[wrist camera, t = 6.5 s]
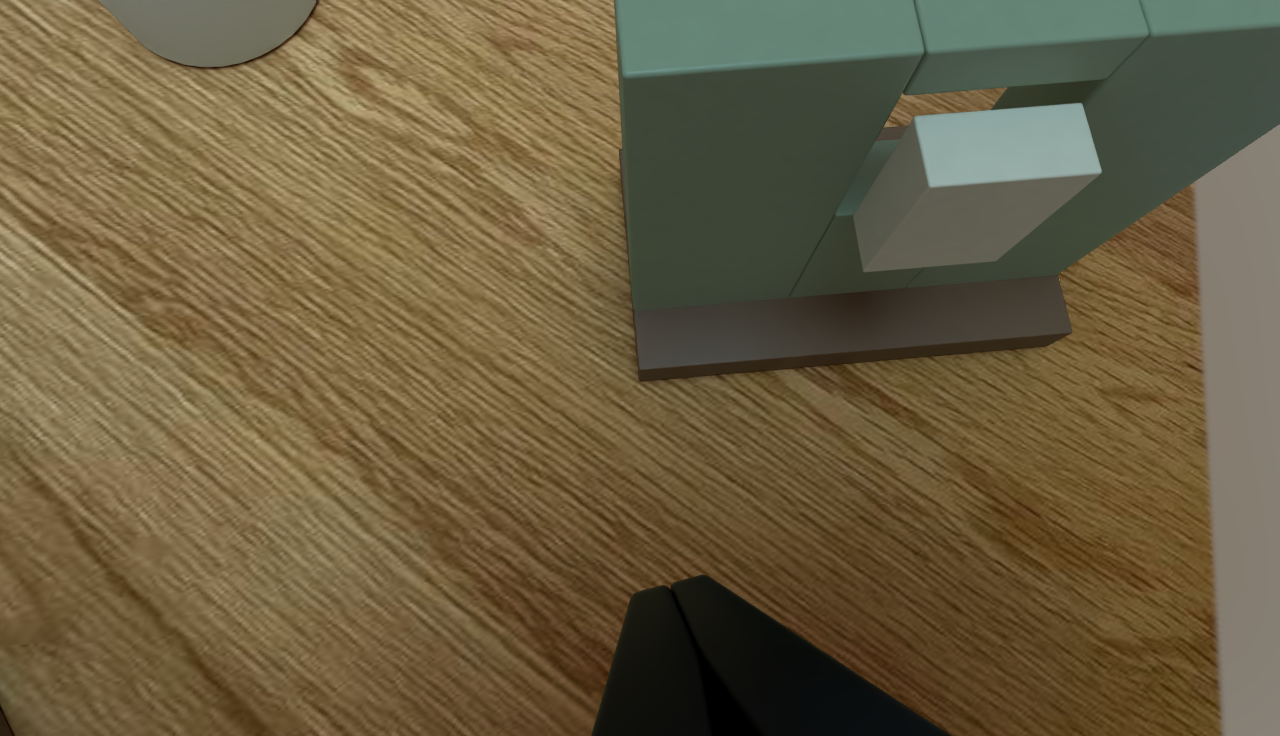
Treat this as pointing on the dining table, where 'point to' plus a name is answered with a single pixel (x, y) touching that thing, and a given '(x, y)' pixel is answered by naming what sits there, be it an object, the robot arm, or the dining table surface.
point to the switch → (973, 185)
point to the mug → (210, 27)
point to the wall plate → (859, 148)
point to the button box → (4, 726)
